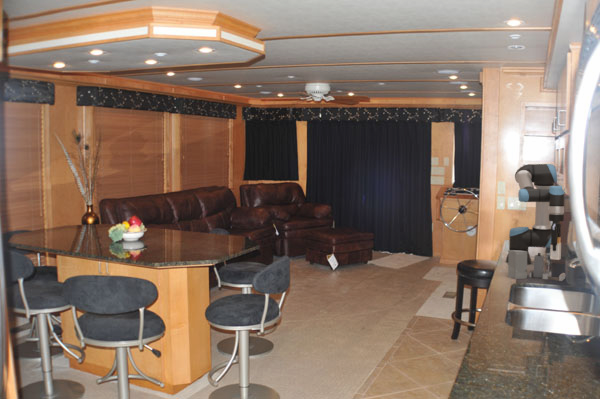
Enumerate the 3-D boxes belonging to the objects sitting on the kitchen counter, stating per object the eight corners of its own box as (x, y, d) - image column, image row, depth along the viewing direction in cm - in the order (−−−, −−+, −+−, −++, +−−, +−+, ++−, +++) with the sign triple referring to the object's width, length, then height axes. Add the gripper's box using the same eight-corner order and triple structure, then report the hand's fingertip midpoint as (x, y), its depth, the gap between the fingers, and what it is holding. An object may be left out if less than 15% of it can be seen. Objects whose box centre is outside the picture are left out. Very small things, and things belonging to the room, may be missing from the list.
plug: (560, 258, 295) (561, 234, 294) (559, 259, 291) (559, 235, 291) (552, 258, 298) (552, 233, 297) (550, 259, 294) (550, 234, 293)
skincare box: (515, 280, 295) (515, 251, 294) (506, 277, 302) (507, 250, 301) (528, 279, 297) (528, 251, 297) (519, 276, 304) (520, 249, 303)
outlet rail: (532, 275, 307) (532, 269, 306) (565, 279, 296) (565, 273, 296) (528, 278, 299) (528, 272, 299) (561, 282, 289) (561, 275, 289)
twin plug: (535, 275, 304) (535, 252, 303) (544, 276, 301) (544, 252, 300) (533, 277, 300) (533, 253, 299) (542, 278, 297) (542, 253, 297)
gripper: (552, 212, 303) (551, 253, 304) (545, 214, 289) (544, 257, 290) (567, 213, 298) (566, 254, 299) (560, 215, 284) (559, 258, 285)
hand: (555, 255), depth 294 cm, fingers closed on plug, 4 cm apart
